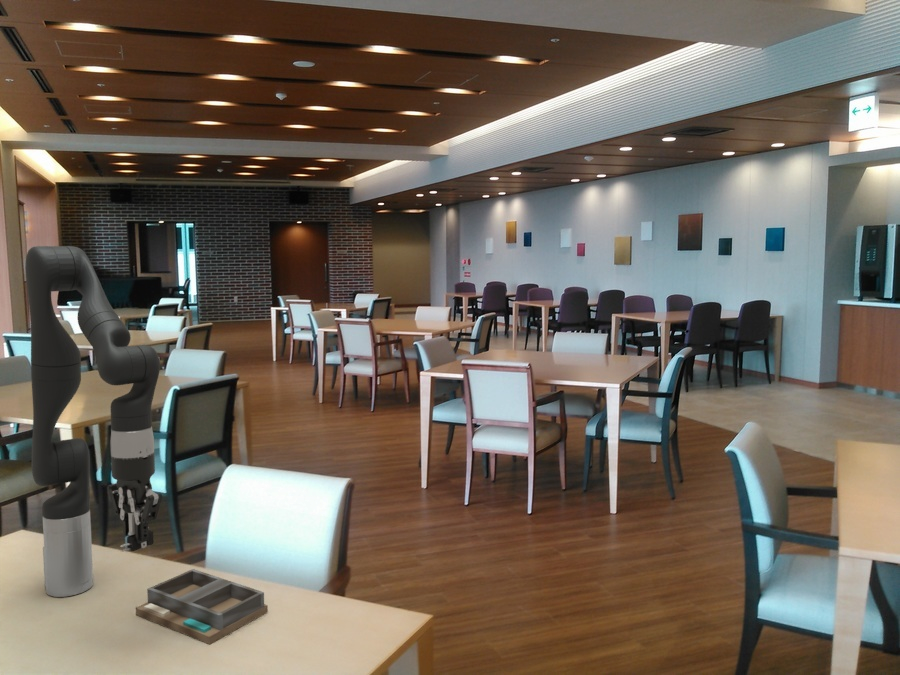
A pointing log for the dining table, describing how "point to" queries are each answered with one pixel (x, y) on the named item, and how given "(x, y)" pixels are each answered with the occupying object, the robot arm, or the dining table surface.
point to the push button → (131, 539)
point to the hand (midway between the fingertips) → (136, 539)
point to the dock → (202, 605)
